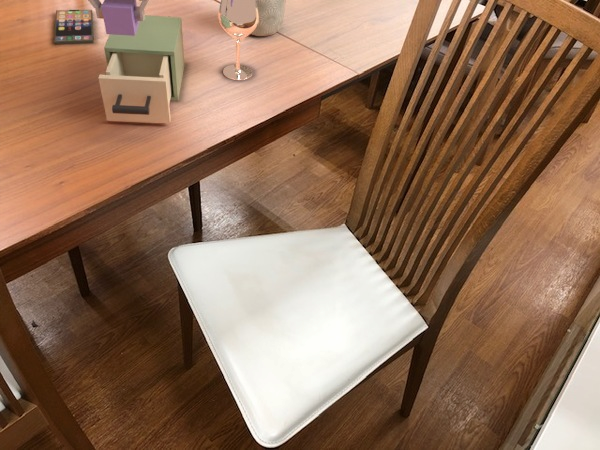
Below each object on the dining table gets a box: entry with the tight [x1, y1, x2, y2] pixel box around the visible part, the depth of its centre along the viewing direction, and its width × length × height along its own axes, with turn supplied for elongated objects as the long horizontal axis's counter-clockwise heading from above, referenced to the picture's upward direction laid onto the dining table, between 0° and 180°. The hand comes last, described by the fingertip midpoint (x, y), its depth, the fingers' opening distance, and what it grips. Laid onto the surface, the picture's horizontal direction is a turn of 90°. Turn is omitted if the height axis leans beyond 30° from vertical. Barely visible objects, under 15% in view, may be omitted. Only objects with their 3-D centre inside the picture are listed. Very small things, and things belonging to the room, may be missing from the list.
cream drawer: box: [97, 52, 173, 124], centre depth 94 cm, size 18×11×9 cm, turn 4°
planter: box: [250, 0, 287, 37], centre depth 123 cm, size 12×12×11 cm
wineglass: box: [217, 0, 259, 81], centre depth 105 cm, size 8×8×18 cm
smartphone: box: [53, 9, 94, 45], centre depth 117 cm, size 8×15×1 cm, turn 16°
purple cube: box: [101, 0, 139, 36], centre depth 82 cm, size 4×4×4 cm
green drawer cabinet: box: [103, 14, 186, 102], centre depth 102 cm, size 15×13×11 cm
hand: (121, 18), depth 82 cm, fingers closed on purple cube, 4 cm apart
